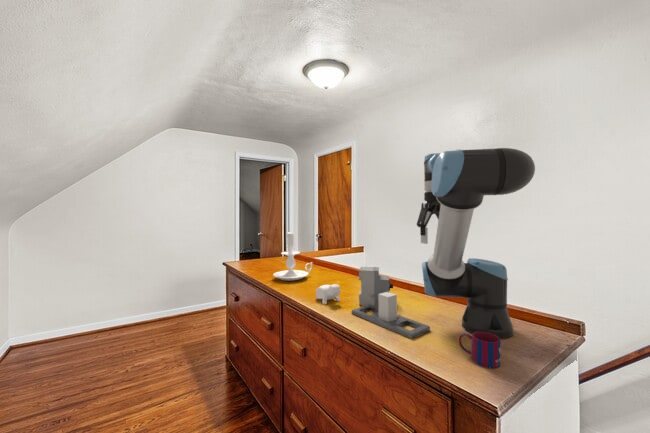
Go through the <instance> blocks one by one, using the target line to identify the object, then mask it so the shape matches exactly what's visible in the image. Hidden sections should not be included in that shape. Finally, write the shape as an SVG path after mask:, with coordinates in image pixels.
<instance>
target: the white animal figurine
mask: <svg viewBox="0 0 650 433" xmlns="http://www.w3.org/2000/svg"><path fill="white" fill-rule="evenodd" d="M340 294H341V287H340V285H339V284H337V283H334V284H323V285H320V286H318V287H317V288H316V290H315V295H316V296H315V298H316V299H317V300H322V301H321V302H322V305H325V306H326V304H328V303H327V301H330V300H333V299H334V300H336V302H341V298H340V297H339V295H340Z"/></svg>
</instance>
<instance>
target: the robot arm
mask: <svg viewBox="0 0 650 433" xmlns="http://www.w3.org/2000/svg"><path fill="white" fill-rule="evenodd" d="M423 159H424V161H423V166H424V167H423V168H424V172H423V173H424V175H423V176H424V183H423V184H424V191H425V192H424V193H423V194H424V195H423V196H424V197H423V198H424V199H423V200H424V202H423V203H421V208H420V211H419V214H418V219H417V222H416V226H417V227H418V228H420V234H419V235H420V244H427V245H428V243H429V241H428V237H429V236H428V232H429V231H428V229H429V228H428V227H427V226H428V223H429V222H430V219H431V218H432V215H435V216H436V218H437V221H438V222H437V227H436V236H435V242H434V249H433V253H432V254H431V255H430V256H429V257H428V260H427V261H423V262H422V263H421V268H422V269H421V270H422V277H423V279H422V280H423V285H424V292H425V294H426V295H427V296H429V297H436V298H464V299H467V304H466V307H465V309H464V312H463V315H462V318H461V327H462V328H463V329H464V330H465V331H467V332H469V333H471V334H472V333H474V332H488V333H491V334H494V335H496V336H498V337H499V338H500V339H507V338H510V337H511V338H512V336H513V335H514V325H513V323H512V320H511V318H510V315H509V312H508V305H507V304H508V281H509V279H508V270H507V267H506V266H505V265H504V264H502V263H500V262H496V261H493V260H488V259H482V258H481V259H480V258H473V257H472V258H468V259H467V261H466V262H464V261H463V257H464V254H465V248H466V246H467V240H468V236H469V231H470V228H471V227H470V226H471V224H472V223H471V222H472V219H473V214H474V210H475V209H477V208H478V207H480V206H481V205H482V203H483V200H484V197H485V196H504V195H508V194H512V193H515V192H517V191H520V190H522V189H523V188H525V187H526V186H528V184H529V183H531V181H532V179H533V178H534V175H535V171H536V165H535V161H534V160H533V158H532V156H531V155H529V154H528V153H527V152H525V151H523V150H520V149H517V148H510V147H498V148H481V149H476V148H475V149H455V150H446V151H443V152H440V153H439V152H438V153H434V152H432V153H428V154H425V155H424V158H423Z"/></svg>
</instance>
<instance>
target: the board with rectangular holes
mask: <svg viewBox="0 0 650 433" xmlns="http://www.w3.org/2000/svg"><path fill="white" fill-rule="evenodd" d="M369 311H370V312H373V313H372V314H369V313H366V312H369ZM351 315H353V316H355V317H359V318H360V319H363V320H365V321H368V322H370V323H373V324H376V325H377V326H379V327H382V328H385V329H387V330H389V331H391V332H394V333H396V334H398V335H401V336H404V337H406V338H407V339H411V340H412V339H414V338H417V337H419V336H422V335H423V334H427V333H428V332H430V331H431V326H430V325H427V324H424V323H422V322H419V321H416V320H413V319H410V318H408V317H405V316H402V315H401V314H400V315H399V314H397V319H396V320H393V321H391V322H387V321H384V320H382V319H379V306H372V305H363V306H361V307H357V308H354V309H351ZM406 325H407V326H408V327H412V328H413V329H412V330H410V329H407V328H404V326H406Z"/></svg>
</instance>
